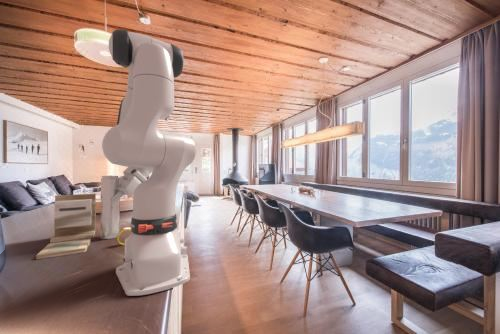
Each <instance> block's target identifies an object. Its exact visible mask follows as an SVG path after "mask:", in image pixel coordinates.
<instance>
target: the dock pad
mask: <svg viewBox="0 0 500 334" xmlns="http://www.w3.org/2000/svg"><path fill="white" fill-rule="evenodd" d="M91 242H92V238H84V239H76V240H68V241H60V242H53V243H50V242H49V243H48V244H47V245H46V246H45V247H43V248H42V250H40V251H39V252H38V253H37V254H36V256H35V259H36V260H42V259H48V258H56V257H61V256H67V255H75V254H79V253H85V252H86V251H87V250H88V248H89V247H90V244H91Z"/></svg>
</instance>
